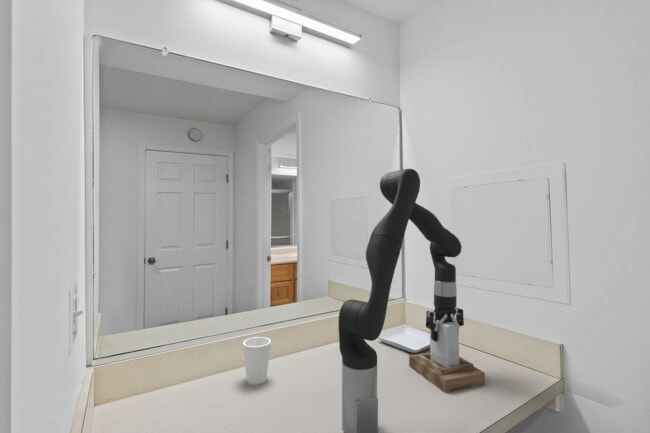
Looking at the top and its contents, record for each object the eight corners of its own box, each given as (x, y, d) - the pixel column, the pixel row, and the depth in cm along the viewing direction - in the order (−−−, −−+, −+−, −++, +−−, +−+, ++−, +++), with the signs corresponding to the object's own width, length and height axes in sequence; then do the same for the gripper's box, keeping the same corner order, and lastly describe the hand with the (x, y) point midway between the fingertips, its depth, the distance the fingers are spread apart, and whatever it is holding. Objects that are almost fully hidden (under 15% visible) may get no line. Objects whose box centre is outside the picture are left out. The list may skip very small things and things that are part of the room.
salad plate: (405, 332, 163) (405, 325, 163) (445, 345, 146) (445, 337, 146) (375, 343, 149) (375, 335, 149) (416, 359, 133) (416, 350, 133)
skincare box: (459, 366, 116) (459, 323, 116) (448, 370, 113) (448, 326, 113) (440, 357, 124) (440, 317, 124) (428, 361, 120) (428, 319, 120)
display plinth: (484, 384, 112) (484, 368, 112) (444, 392, 106) (445, 375, 106) (444, 360, 131) (444, 346, 131) (409, 366, 125) (409, 351, 125)
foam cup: (242, 388, 109) (243, 348, 109) (242, 375, 118) (242, 338, 118) (272, 384, 112) (272, 345, 112) (269, 372, 120) (269, 335, 120)
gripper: (434, 297, 113) (434, 345, 113) (469, 294, 117) (469, 340, 117) (421, 292, 120) (421, 338, 120) (454, 289, 124) (454, 333, 124)
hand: (444, 339), depth 119 cm, fingers open, 8 cm apart
